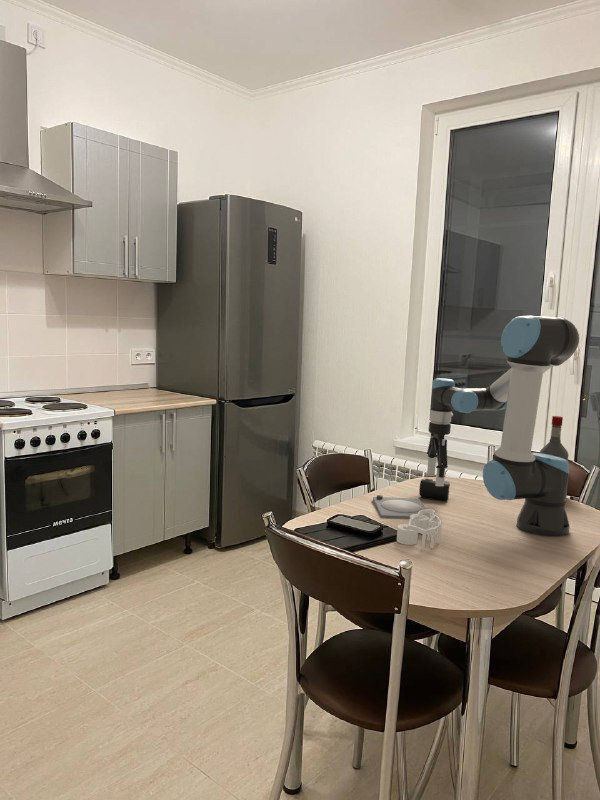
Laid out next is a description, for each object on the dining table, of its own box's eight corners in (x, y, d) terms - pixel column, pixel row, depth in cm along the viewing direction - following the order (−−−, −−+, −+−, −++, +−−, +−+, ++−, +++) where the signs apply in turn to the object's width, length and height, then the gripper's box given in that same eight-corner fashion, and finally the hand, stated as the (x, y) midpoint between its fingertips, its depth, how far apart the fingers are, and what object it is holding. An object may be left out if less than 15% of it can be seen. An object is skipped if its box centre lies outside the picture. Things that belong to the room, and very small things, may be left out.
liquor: (533, 495, 233) (541, 416, 229) (540, 490, 240) (548, 413, 236) (558, 500, 228) (567, 419, 224) (565, 495, 235) (573, 417, 231)
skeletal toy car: (413, 529, 190) (415, 506, 189) (449, 536, 185) (451, 512, 184) (391, 549, 172) (393, 524, 171) (430, 558, 167) (432, 532, 166)
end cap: (418, 499, 221) (419, 481, 220) (422, 494, 228) (423, 476, 227) (447, 503, 218) (448, 484, 217) (449, 498, 224) (451, 480, 223)
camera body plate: (431, 521, 197) (432, 514, 197) (381, 519, 197) (381, 512, 196) (418, 502, 217) (418, 495, 217) (372, 501, 217) (373, 494, 216)
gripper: (460, 429, 207) (454, 491, 210) (442, 416, 232) (437, 471, 235) (437, 428, 207) (432, 490, 210) (422, 415, 232) (417, 470, 235)
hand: (435, 480), depth 223 cm, fingers open, 13 cm apart
